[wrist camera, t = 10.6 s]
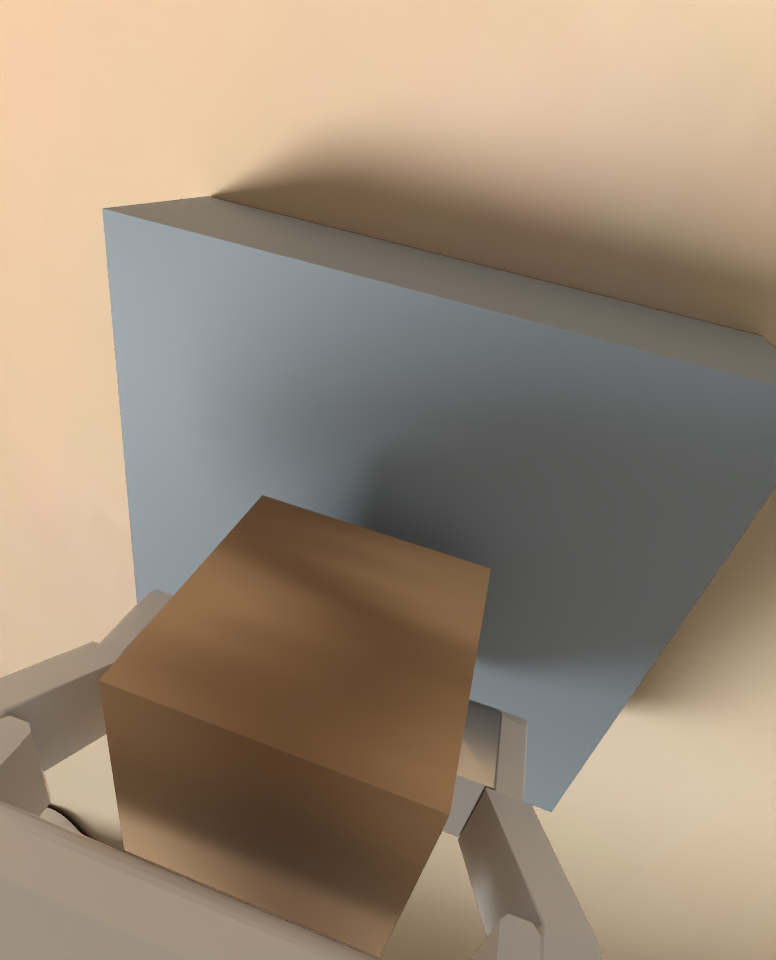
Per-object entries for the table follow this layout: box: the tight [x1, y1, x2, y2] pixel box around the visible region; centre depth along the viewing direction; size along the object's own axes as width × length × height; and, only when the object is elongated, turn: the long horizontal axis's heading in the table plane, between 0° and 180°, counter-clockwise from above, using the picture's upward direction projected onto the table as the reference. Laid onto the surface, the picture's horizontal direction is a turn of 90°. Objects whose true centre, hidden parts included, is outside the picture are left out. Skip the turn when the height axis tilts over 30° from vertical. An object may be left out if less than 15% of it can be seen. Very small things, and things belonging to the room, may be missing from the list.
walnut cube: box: [99, 495, 491, 958], centre depth 11 cm, size 5×5×5 cm
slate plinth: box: [103, 196, 776, 812], centre depth 16 cm, size 14×14×4 cm
